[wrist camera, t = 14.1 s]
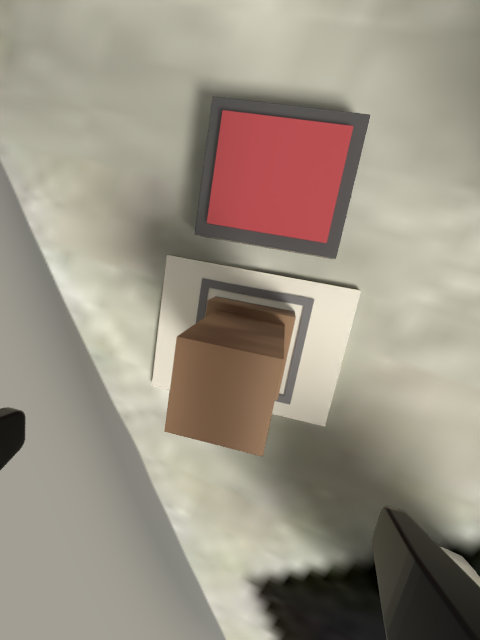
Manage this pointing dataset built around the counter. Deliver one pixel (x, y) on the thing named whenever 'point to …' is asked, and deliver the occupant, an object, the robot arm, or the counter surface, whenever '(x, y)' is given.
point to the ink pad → (279, 175)
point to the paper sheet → (274, 291)
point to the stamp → (229, 374)
